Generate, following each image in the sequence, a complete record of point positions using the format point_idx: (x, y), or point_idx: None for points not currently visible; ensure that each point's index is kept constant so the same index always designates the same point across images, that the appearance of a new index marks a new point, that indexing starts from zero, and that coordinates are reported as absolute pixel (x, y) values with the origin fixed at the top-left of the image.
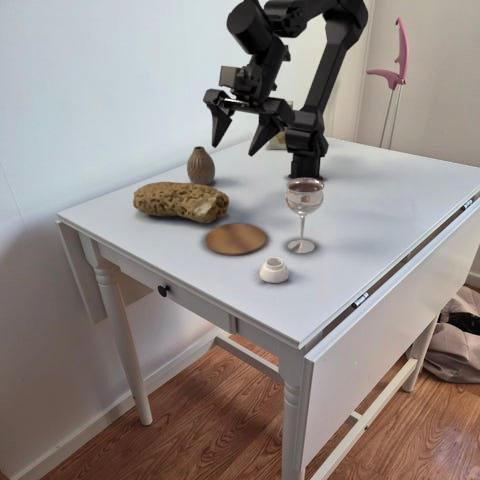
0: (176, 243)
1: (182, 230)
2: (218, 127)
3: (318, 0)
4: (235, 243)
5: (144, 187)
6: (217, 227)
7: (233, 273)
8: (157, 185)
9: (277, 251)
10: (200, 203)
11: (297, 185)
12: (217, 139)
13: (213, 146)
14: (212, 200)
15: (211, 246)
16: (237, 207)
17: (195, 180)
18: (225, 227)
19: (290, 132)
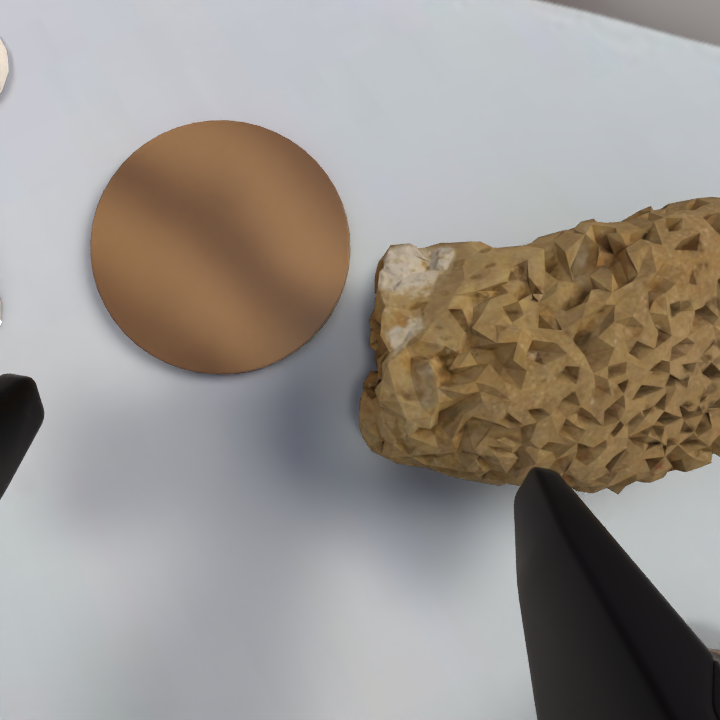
0: (431, 125)
1: (474, 225)
2: (621, 700)
3: None
4: (197, 201)
5: None
6: (340, 289)
7: (109, 31)
8: None
9: (23, 237)
10: (445, 284)
11: None
12: (538, 560)
13: (530, 473)
14: (395, 320)
15: (275, 140)
16: (373, 523)
17: (712, 651)
18: (308, 305)
19: None
